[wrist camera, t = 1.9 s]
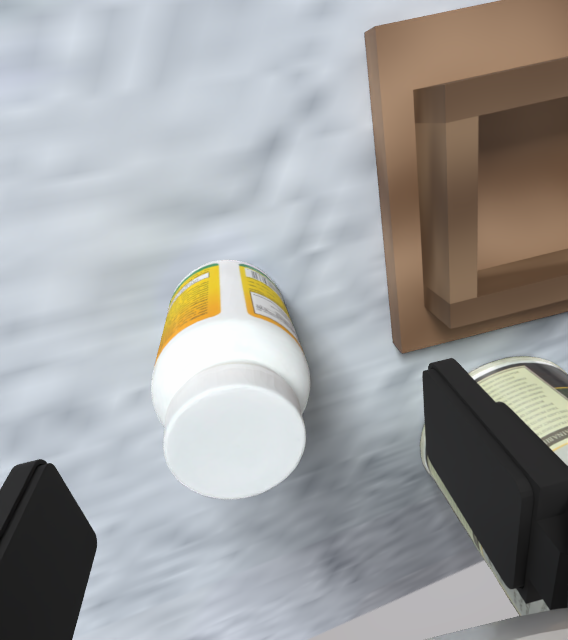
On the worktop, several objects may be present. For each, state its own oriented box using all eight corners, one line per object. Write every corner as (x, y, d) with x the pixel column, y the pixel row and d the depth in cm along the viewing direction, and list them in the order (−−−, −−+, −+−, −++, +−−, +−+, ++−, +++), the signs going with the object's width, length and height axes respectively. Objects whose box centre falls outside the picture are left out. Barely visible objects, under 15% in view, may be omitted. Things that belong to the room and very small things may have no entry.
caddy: (602, 289, 23) (667, 317, 20) (392, 342, 23) (424, 380, 19) (649, -27, 17) (753, -63, 14) (364, 32, 17) (403, 9, 13)
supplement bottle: (286, 259, 20) (345, 362, 11) (277, 360, 22) (321, 511, 13) (166, 254, 19) (131, 364, 10) (169, 360, 21) (142, 524, 12)
